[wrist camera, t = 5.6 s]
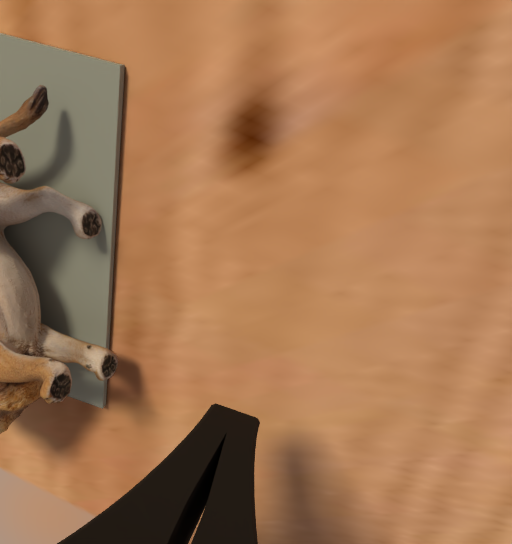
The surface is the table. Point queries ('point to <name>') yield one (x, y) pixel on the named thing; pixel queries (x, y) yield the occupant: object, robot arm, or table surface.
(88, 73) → the mat
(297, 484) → the table surface
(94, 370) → the lion figurine
